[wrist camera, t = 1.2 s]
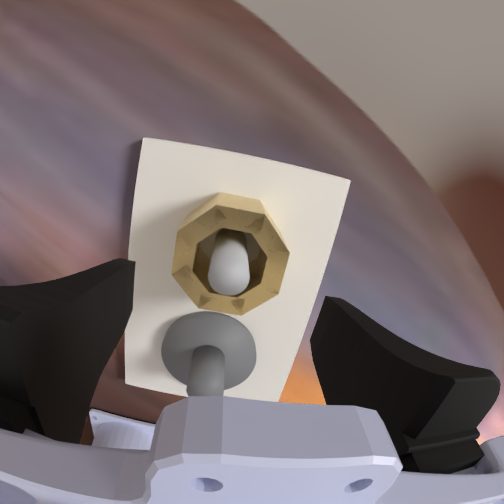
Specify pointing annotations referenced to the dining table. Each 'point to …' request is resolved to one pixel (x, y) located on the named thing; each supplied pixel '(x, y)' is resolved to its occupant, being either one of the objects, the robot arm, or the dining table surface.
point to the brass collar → (260, 269)
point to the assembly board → (156, 246)
